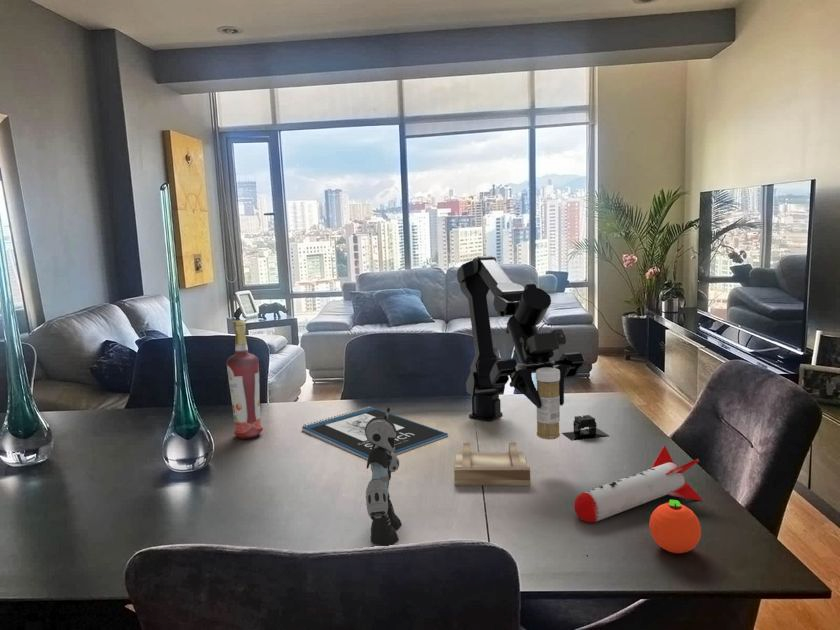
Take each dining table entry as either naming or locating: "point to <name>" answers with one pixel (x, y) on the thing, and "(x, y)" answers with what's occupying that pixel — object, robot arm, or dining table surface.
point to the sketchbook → (352, 432)
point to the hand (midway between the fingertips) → (551, 405)
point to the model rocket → (636, 490)
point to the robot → (381, 480)
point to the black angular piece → (586, 433)
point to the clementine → (675, 527)
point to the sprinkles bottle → (548, 403)
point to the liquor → (244, 386)
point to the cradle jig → (491, 467)
